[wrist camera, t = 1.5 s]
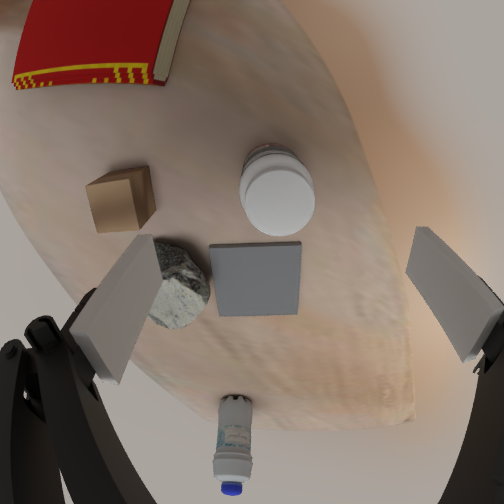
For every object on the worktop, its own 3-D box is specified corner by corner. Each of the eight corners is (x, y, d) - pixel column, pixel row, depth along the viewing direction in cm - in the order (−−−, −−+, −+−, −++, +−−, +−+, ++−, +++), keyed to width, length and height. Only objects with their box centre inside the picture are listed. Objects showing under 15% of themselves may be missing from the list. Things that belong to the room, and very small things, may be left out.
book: (37, 87, 20) (10, 90, 16) (60, -3, 14) (37, -10, 10) (167, 86, 22) (148, 83, 18) (198, -20, 16) (187, -40, 12)
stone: (217, 273, 36) (230, 290, 26) (170, 331, 35) (167, 365, 25) (159, 225, 33) (150, 224, 24) (113, 286, 32) (90, 306, 23)
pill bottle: (294, 201, 28) (311, 249, 19) (239, 193, 28) (231, 238, 19) (305, 147, 25) (331, 171, 16) (247, 138, 25) (241, 156, 16)
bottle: (259, 396, 47) (258, 494, 29) (246, 410, 50) (243, 498, 32) (225, 389, 45) (216, 491, 28) (214, 404, 48) (205, 494, 31)
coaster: (209, 245, 31) (208, 248, 30) (300, 241, 30) (301, 245, 29) (219, 312, 36) (219, 316, 35) (296, 310, 35) (297, 314, 34)
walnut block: (109, 172, 26) (85, 186, 22) (148, 165, 26) (129, 178, 22) (117, 213, 29) (97, 233, 24) (156, 210, 29) (139, 230, 24)
